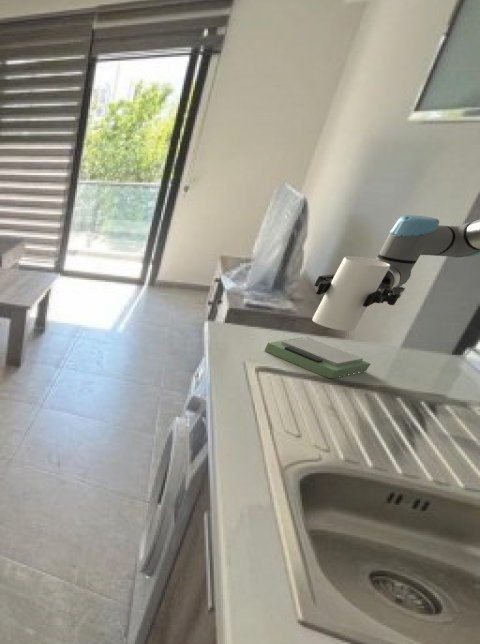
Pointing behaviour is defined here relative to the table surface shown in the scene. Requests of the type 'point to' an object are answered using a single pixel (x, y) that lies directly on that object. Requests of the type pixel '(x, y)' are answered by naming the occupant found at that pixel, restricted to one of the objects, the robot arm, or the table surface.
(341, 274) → the cup
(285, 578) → the table surface
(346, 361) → the scale
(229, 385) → the table surface
